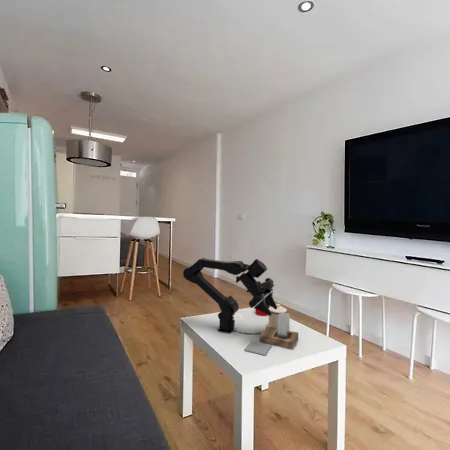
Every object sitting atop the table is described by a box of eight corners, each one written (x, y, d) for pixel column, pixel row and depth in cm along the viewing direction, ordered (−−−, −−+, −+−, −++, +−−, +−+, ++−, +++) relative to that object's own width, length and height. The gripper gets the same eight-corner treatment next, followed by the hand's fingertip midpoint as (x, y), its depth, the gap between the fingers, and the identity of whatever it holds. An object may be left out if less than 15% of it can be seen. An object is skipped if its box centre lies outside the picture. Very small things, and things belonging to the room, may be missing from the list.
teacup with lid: (281, 332, 135) (282, 308, 134) (264, 327, 140) (265, 304, 140) (292, 325, 144) (293, 302, 144) (276, 320, 150) (276, 298, 149)
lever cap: (277, 342, 125) (277, 315, 124) (279, 338, 129) (280, 312, 129) (286, 344, 123) (287, 317, 122) (288, 340, 127) (289, 313, 127)
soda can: (252, 313, 160) (253, 292, 159) (260, 310, 165) (261, 289, 165) (263, 317, 155) (264, 295, 154) (271, 313, 160) (272, 292, 160)
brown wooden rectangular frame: (259, 342, 125) (259, 335, 125) (266, 332, 135) (267, 326, 135) (293, 349, 119) (293, 342, 119) (298, 339, 129) (298, 332, 128)
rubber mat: (243, 350, 117) (244, 349, 117) (251, 341, 125) (251, 340, 125) (265, 356, 113) (265, 354, 113) (271, 346, 121) (271, 345, 121)
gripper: (256, 277, 120) (281, 307, 116) (269, 269, 137) (291, 295, 133) (238, 293, 124) (262, 323, 120) (253, 283, 141) (274, 309, 137)
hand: (273, 311), depth 127 cm, fingers open, 9 cm apart
